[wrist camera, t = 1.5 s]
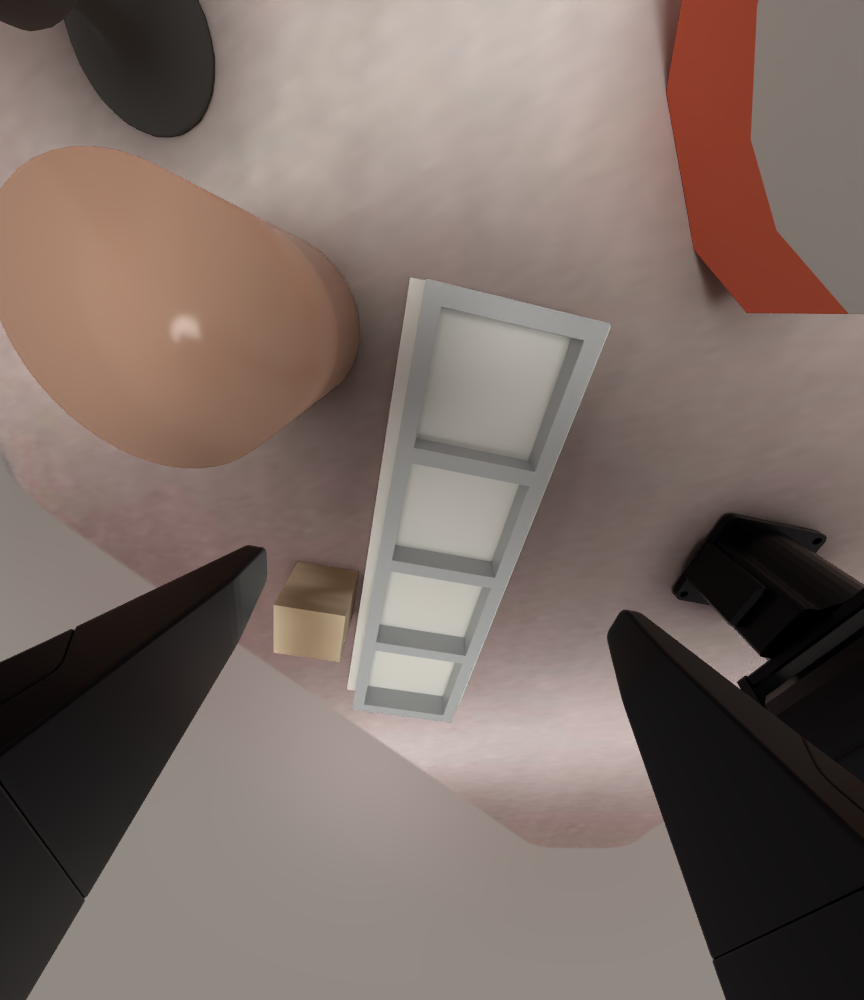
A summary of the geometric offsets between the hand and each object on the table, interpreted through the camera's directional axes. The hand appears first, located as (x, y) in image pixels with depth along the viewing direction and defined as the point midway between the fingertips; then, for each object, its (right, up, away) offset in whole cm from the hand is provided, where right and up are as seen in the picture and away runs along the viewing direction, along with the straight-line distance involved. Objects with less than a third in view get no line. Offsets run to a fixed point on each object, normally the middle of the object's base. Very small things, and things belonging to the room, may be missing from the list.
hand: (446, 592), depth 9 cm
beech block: (-8, -4, +16) cm, 18 cm away
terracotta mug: (-7, +11, +8) cm, 15 cm away
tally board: (0, -1, +14) cm, 14 cm away
